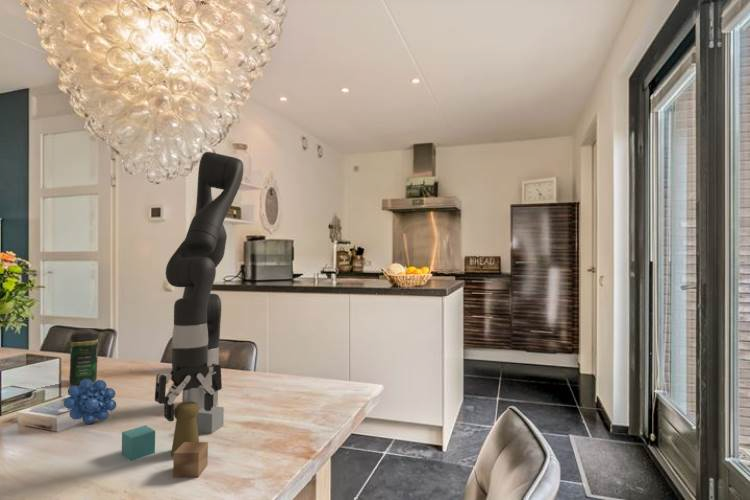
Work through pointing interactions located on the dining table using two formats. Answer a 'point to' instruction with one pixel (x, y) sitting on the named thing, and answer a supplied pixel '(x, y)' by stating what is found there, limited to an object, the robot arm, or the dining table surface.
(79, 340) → the coffee jar
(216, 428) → the slate-grey block
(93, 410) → the blue knobby flower
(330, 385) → the dining table surface
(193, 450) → the walnut block
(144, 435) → the deep teal block
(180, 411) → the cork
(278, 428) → the dining table surface
